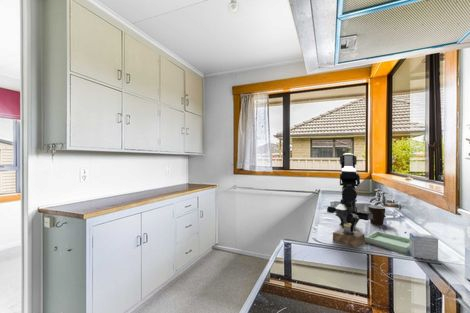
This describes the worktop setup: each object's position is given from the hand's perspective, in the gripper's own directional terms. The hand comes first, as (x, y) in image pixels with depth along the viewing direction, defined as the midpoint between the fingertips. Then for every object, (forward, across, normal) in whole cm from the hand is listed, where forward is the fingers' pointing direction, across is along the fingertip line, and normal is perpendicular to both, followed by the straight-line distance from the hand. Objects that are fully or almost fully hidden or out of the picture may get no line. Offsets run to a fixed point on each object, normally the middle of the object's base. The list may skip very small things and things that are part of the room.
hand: (348, 230), depth 106 cm
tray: (+5, +13, +12) cm, 18 cm away
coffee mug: (+5, -2, +40) cm, 40 cm away
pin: (+5, 0, 0) cm, 5 cm away
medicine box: (+5, +26, +7) cm, 27 cm away
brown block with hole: (+5, 0, 0) cm, 5 cm away
